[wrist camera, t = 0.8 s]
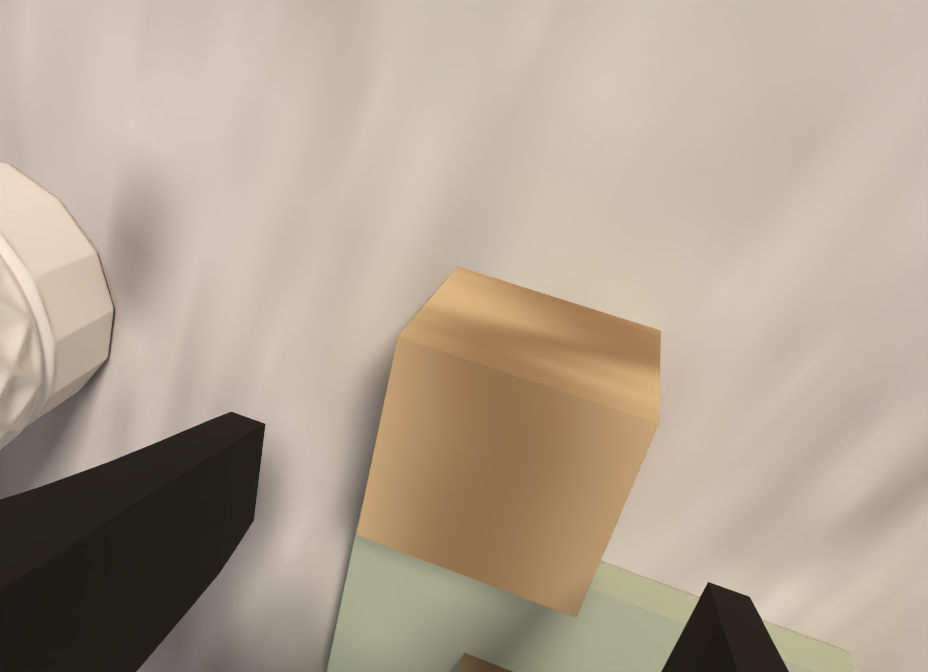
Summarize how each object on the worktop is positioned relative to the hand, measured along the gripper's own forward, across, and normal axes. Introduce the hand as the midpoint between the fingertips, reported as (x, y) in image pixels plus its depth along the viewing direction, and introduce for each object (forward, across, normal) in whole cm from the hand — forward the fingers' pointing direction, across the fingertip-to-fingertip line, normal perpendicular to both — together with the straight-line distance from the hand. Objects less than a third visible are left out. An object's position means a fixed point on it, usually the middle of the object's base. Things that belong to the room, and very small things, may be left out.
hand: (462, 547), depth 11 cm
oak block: (+6, 0, 0) cm, 6 cm away
